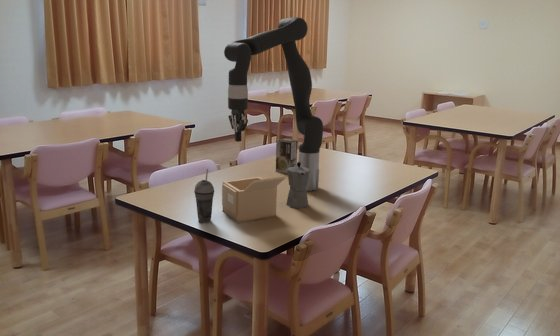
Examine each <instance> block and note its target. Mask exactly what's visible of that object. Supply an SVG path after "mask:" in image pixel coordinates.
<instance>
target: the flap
mask: <svg viewBox="0 0 560 336" xmlns="http://www.w3.org/2000/svg"><path fill="white" fill-rule="evenodd" d="M285 180H286V176H277V177H270V178H262V180H255V181H252V182H251V183H250V184H249V185H248V186H247V187H246V188H245V189H244V192H247V191H253V190H260V189H267V188H274V187H276V186H277V187H278V186H279V185H280V183H282V182H283V181H285Z"/></svg>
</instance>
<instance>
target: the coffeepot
mask: <svg viewBox="0 0 560 336" xmlns="http://www.w3.org/2000/svg"><path fill="white" fill-rule="evenodd" d="M300 165H301V163H300V162H298V161H297V165H296V164H293V165H292V167H289V168H288V170H287V171H288V173H287V177H288V185H289V190H288V194H287V199H286V206H287V207H289V208H293V209H303V208H304V207H305V208H307V207H308V206H309V200H308V198H309V197H308V191H307V190H306V186H307V182H308V177H309V172H310V169H308V168H306V167H301V166H300Z"/></svg>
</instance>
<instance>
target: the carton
mask: <svg viewBox="0 0 560 336" xmlns="http://www.w3.org/2000/svg"><path fill="white" fill-rule="evenodd" d="M262 179H263V177H261V176H256V177H248V178H241V179H233V180H224V181H222V184H221V205H222V212H223V213H224V214H226V215H227V216H228V217H229V218H231V219H233V220H234V221H235V222H237V224H241V223H246V222H250V221H251V222H252V221H257V220H262V219H263V220H264V219H267V218H273V216H274V217H276V216H277V199H278V196H277V195H278V194H277V193H278V185H277V186H276V187H274V188H267V189H260V190H253V191H247V192H244V189H245V188H246V187H247V186H248V185H249V184H250V183H251V182H252V181H255V180H262Z"/></svg>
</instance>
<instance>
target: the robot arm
mask: <svg viewBox="0 0 560 336" xmlns="http://www.w3.org/2000/svg"><path fill="white" fill-rule="evenodd" d="M307 34H308V24H307V22H306V20H305V19H304V18H303V17H298V16H297V17H296V16H295V17H286V18H282V19H281V20H279V22H278V25H277V28H275V29H270V30H266V31H263V32H260V33H257V34H255V35H251V36H249V37H246V38H244V39H238V40H234V41H231V42H230V43H228V44H227V45H226V46H225V48H224V50H223V53H224V57H225V59H226V60H228V61H230V62H233V63H234V62H235V66H234V68H230V69H229V71H228V87H227V108H228V109H229V110H231V112H230V114H229V115H228V116H227V117H228V120H229V123H230V126H231V129H232V130H233V132H234V141H235V142H238V143H239V142H242V133H243V132H245V130H246V128H247V125H248V122H249V119H247V118H246V112H245V111H246V110H248V108H249V105H248V104H249V98H248V97H249V90H248V72H249V69H250V63H251V62H252V61H251V60H252V56H256V55H259V54H262V53H263V52H266V51H269V50H270V49H273V48H275V47H277V46H280V45H281V47H282V51H283V55H284V59H285V63H286V67H287V74H288V79H289V84H290V89H291V94H292V98H293V103H294V108H295V109H294V110H295V111H294V112H295V123H296V128H297V131H298V132H299V133H300V134H301V135H303V143H300V144H299V145H298V159H297V160H298V161H297V162H300V163H301V165H300V166H301V167H306V168H308V169H310V172H309V177H308V182H307V186H306V190H307V192H312V190H314V191H319V181H320V169H319V167H320V151H321V147H322V144H323V135H324V134H323V133H324V122H323V120H322V119H321V118H320V117H318V116H315V115H313V114H312V109H311V104H310V100H311V95H312V90H313V82H312V75H311V71H310V68H309V66H308V64H307V63H306V61H305V60H304V58H303V57H302V56H301V54H300V52H299V51H298V47H297V41H301V40H303V39H304V38H305V37H306V36H307Z"/></svg>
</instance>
